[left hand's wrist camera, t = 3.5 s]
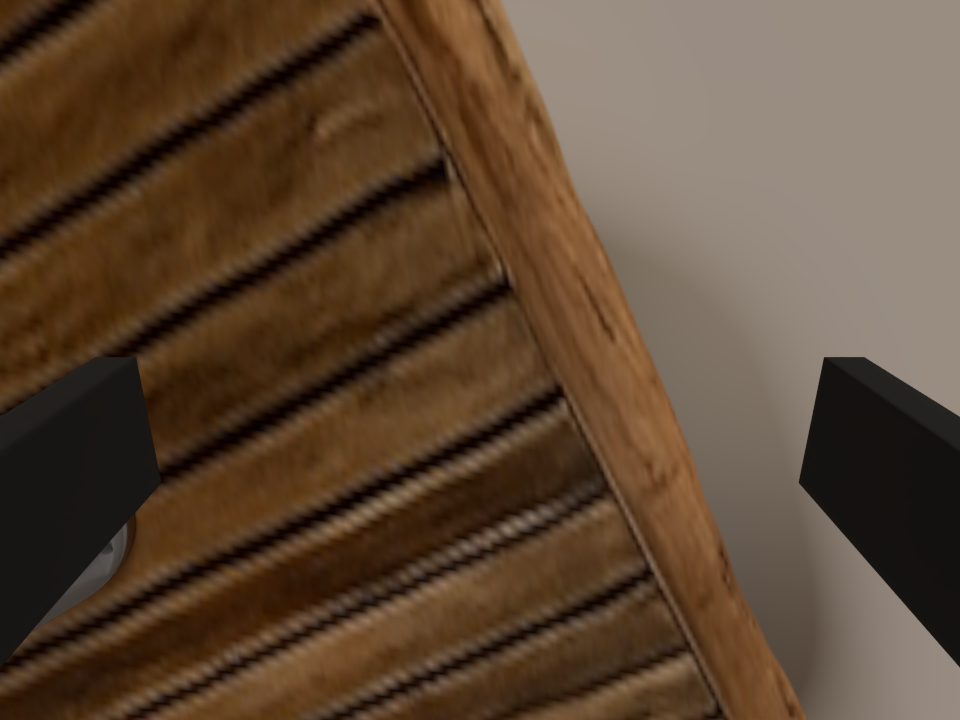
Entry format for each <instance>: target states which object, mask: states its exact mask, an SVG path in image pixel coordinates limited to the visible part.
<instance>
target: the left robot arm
mask: <svg viewBox="0 0 960 720" xmlns="http://www.w3.org/2000/svg"><path fill="white" fill-rule="evenodd" d="M160 484H161V479H160V474H159V469H158V464H157V459H156V454H155V449H154V444H153V439H152V434H151V429H150V425H149V420H148V415H147V410H146V405H145V400H144V395H143V390H142V385H141V380H140V375H139V370H138V365H137V360H136V357H95V358H94V359H92V360H90V361H89V362H87V363H86V364H84V365H82V366H81V367H79V368H78V369H76V370H74V371H73V372H71V373H70V374H68V375H66V376H65V377H63V378H62V379H60V380H58V381H57V382H55V383H54V384H52V385H50V386H49V387H47V388H46V389H44V390H42V391H41V392H39V393H38V394H36V395H34V396H33V397H31V398H30V399H28V400H26V401H25V402H23V403H22V404H20V405H18V406H17V407H15V408H14V409H12V410H10V411H9V412H7V413H6V414H2V415H0V667H1V666H2V665H3V664H4V662H5V661H6V660H7V659H8V658H9V657H10V655H11V654H12V653H13V652H14V651H15V650H16V649H17V647H18V646H19V645H20V644H21V643H22V642H23V641H24V639H25V638H26V637H27V636H28V635H29V634H30V633H31V632H32V631H34V630H35V629H37V628H39V627H40V626H42V625H44V624H45V623H47V622H49V621H50V620H52V619H54V618H55V617H57V616H58V615H60V614H62V613H63V612H65V611H67V610H68V609H70V608H72V607H73V606H75V605H77V604H78V603H80V602H82V601H83V600H85V599H86V598H88V597H89V596H91V595H92V594H94V593H95V592H96V591H97V590H99V589H100V588H101V587H103V586H104V585H105V584H106V583H107V582H108V581H109V580H110V579H111V577H112V576H113V575H114V574H115V572H116V571H117V570H118V569H119V567H120V566H121V565H122V563H123V562H124V561H125V559H126V558H127V556H128V554H129V552H130V549H131V547H132V544H133V540H134V535H135V516H134V513H135V512H136V511H137V510H138V509H139V508H140V506H141V505H142V504H143V503H144V502H145V501H146V500H147V498H148V497H149V496H150V495H151V494H152V493H153V492H154V490H155V489H156V488H157V487H158V486H159V485H160ZM799 484H800V485H801V486H802V487H803V488H804V489H805V490H806V492H807V493H808V494H809V495H810V496H811V497H812V498H813V500H814V501H815V502H816V503H817V504H818V505H819V506H820V508H821V509H822V510H823V511H824V512H825V513H826V515H827V516H828V517H829V518H830V519H831V520H832V521H833V522H834V524H835V525H836V526H837V527H838V528H839V529H840V531H841V532H842V533H843V534H844V535H845V536H846V537H847V539H848V540H849V541H850V542H851V543H852V544H853V545H854V547H855V548H856V549H857V550H858V551H859V552H860V553H861V555H862V556H863V557H864V558H865V559H866V560H867V561H868V563H869V564H870V565H871V566H872V567H873V568H874V570H875V571H876V572H877V573H878V574H879V575H880V576H881V578H882V579H883V580H884V581H885V582H886V583H887V584H888V585H889V587H890V588H891V589H892V590H893V591H894V592H895V594H896V595H897V596H898V597H899V598H900V599H901V600H902V602H903V603H904V604H905V605H906V606H907V607H908V609H909V610H910V611H911V612H912V613H913V614H914V615H915V616H916V618H917V619H918V620H919V621H920V622H921V623H922V624H923V626H924V627H925V628H926V629H927V630H928V631H929V632H930V634H931V635H932V636H933V637H934V638H935V639H936V641H937V642H938V643H939V644H940V645H941V646H942V647H943V649H944V650H945V651H946V652H947V653H948V654H949V655H950V657H951V658H952V659H953V660H954V661H955V662H956V664H957V665H958V666H959V667H960V417H959V416H958V415H956V414H954V413H953V412H951V411H950V410H948V409H946V408H945V407H943V406H942V405H940V404H938V403H937V402H935V401H934V400H932V399H930V398H929V397H927V396H926V395H924V394H922V393H921V392H919V391H918V390H916V389H914V388H913V387H911V386H910V385H908V384H906V383H905V382H903V381H902V380H900V379H898V378H897V377H895V376H894V375H892V374H890V373H889V372H887V371H886V370H884V369H882V368H881V367H879V366H877V365H876V364H874V363H873V362H871V361H869V360H868V359H866V358H865V357H824V360H823V365H822V370H821V375H820V380H819V385H818V390H817V395H816V400H815V405H814V410H813V415H812V420H811V425H810V429H809V434H808V439H807V444H806V449H805V454H804V459H803V464H802V469H801V474H800V479H799Z"/></svg>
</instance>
